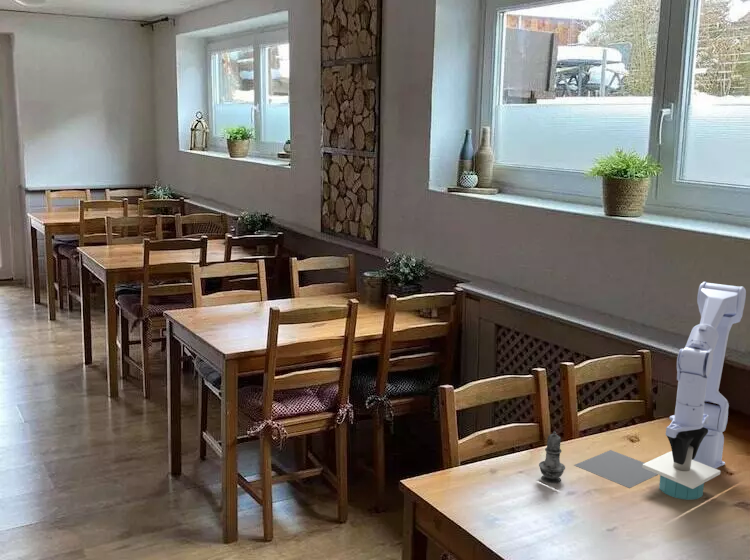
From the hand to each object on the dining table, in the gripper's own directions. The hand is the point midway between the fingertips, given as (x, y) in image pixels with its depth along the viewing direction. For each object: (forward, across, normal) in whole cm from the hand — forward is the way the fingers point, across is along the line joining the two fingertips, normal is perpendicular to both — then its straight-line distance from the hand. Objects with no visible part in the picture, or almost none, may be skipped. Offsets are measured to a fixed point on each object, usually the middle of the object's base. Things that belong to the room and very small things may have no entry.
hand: (683, 460), depth 176 cm
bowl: (+7, 0, 0) cm, 7 cm away
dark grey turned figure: (+8, +19, -21) cm, 29 cm away
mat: (+7, +1, -15) cm, 17 cm away
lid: (+3, 0, 0) cm, 3 cm away
